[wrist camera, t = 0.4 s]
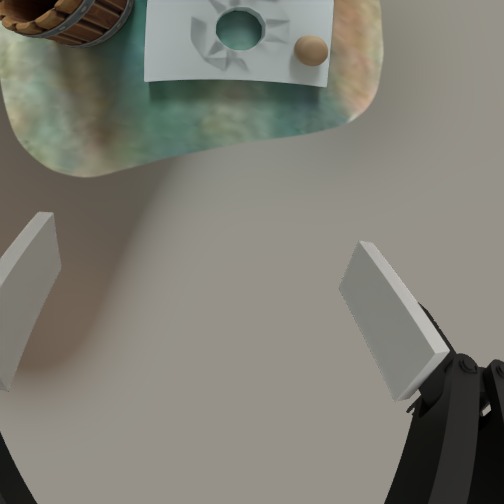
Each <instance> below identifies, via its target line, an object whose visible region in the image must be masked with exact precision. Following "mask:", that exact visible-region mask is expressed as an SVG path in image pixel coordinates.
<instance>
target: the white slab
mask: <svg viewBox="0 0 504 504" xmlns="http://www.w3.org/2000/svg"><path fill="white" fill-rule="evenodd" d="M333 5H334V0H148V1H147V14H146V32H145V59H144V82H151V81H166V80H193V79H227V80H254V81H270V82H283V83H293V84H303V85H311V86H319V87H326V88H327V79H328V69H329V58H330V46H331V34H332V21H333ZM232 11H246V12H248V13H250V14H252V15H253V16H255V17H257V19H258V21H259V23H260V24H261V26H262V34H261V39H260V40H259V41H258V43H257V44H256V45H255V47H253V48H251V49H249V50H246V51H245V50H232V49H230V48H229V47H227V46H225V45H223V44H222V43H221V42H220V40H219V38H218V36H217V35H216V24H217V22H218V21H219V20H220V18H221V17H222V16H223V15H225V14H227V13H229V12H232ZM306 35H314V36H317V37H320V38H321V39H322V40H323V41H324V42H325V43H326V44H327V47H328V57H327V59H326V60H325V61H324V62H323V63H322V64H320V65H318V66H306V65H304V64H302V63H301V62H299V61H298V60H297V58H296V57H295V54H294V46H295V43H296V42H297V40H298V39H299V38H301V37H303V36H306Z"/></svg>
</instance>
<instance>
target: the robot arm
mask: <svg viewBox="0 0 504 504" xmlns="http://www.w3.org/2000/svg"><path fill="white" fill-rule="evenodd" d="M61 268H62V267H61V261H60V256H59V249H58V243H57V236H56V229H55V221H54V213H50V212H38V213H37V214H36V215H35V216H34V217H33V219H32V220H31V221H30V222H29V223H28V225H27V226H26V227H25V228H24V229H23V230H22V232H21V233H20V234H19V236H18V237H17V238H16V239H15V241H14V242H13V243H12V244H11V246H10V247H9V248H8V249H7V251H6V252H5V253H4V255H3V256H2V257H1V259H0V389H2V390H5V391H8V392H9V390H10V387H11V383H12V380H13V378H14V375H15V372H16V369H17V367H18V364H19V361H20V358H21V355H22V353H23V351H24V348H25V346H26V343H27V341H28V338H29V336H30V333H31V331H32V329H33V326H34V324H35V322H36V320H37V317H38V315H39V313H40V311H41V308H42V306H43V304H44V302H45V300H46V297H47V296H48V293H49V292H50V290H51V287H52V285H53V284H54V282H55V280H56V278H57V275H58V274H59V272H60V270H61ZM339 290H340V292H341V294H342V296H343V297H344V299H345V301H346V303H347V305H348V307H349V309H350V311H351V313H352V315H353V317H354V319H355V321H356V323H357V325H358V327H359V329H360V331H361V333H362V335H363V337H364V339H365V340H366V343H367V345H368V347H369V349H370V351H371V353H372V355H373V357H374V359H375V361H376V363H377V365H378V367H379V369H380V372H381V374H382V376H383V378H384V380H385V382H386V384H387V387H388V389H389V391H390V393H391V395H392V397H393V400H394V401H395V402H396V401H400V400H404V399H408V398H410V397H411V396H412V395H413V394H414V393H415V392H416V391H417V389H419V391H420V393H421V395H420V396H419V398H418V399H417V400H416V401H415V402H414V403H413V404H412V405H411V406H410V407H409V408H408V410H407V411H406V412H407V413H409V412H410V411H411V410H412V409H413V408H415V410H414V412H413V413H412V415H413V418H412V422H411V425H410V429H409V432H408V436H407V440H406V443H405V446H404V450H403V453H402V456H401V459H400V462H399V465H398V468H397V471H396V474H395V477H394V479H393V482H392V485H391V488H390V490H389V493H388V495H387V498H386V500H385V503H384V504H504V362H502V361H500V360H496V359H495V360H493V361H492V362H491V363H490V364H489V365H488V367H487V368H484V367H478V366H477V364H476V363H475V361H474V360H473V359H472V358H471V357H469V356H468V355H465V354H456V352H455V351H454V349H453V347H452V346H451V344H450V343H449V341H448V340H447V338H446V337H445V335H444V334H443V332H442V331H441V329H439V326H438V325H437V323H436V322H435V321H434V319H433V318H432V316H431V315H430V313H429V312H428V310H426V309H425V308H424V307H423V306H422V305H421V304H420V303H418V302H417V301H416V300H415V298H414V297H413V296H412V294H411V293H410V291H409V290H408V289H407V287H406V286H405V285H404V283H403V282H402V280H401V279H400V278H399V276H398V275H397V274H396V273H395V271H394V270H393V268H392V267H391V266H390V265H389V263H388V262H387V261H386V259H385V258H384V257H383V256H382V254H381V253H380V252H379V251H378V249H377V248H376V247H375V246H374V244H373V243H372V242H366V241H358V243H357V245H356V248H355V251H354V253H353V255H352V258H351V260H350V263H349V265H348V268H347V270H346V273H345V275H344V277H343V280H342V282H341V284H340V286H339ZM489 404H490V406H491V411H490V412H489V413H487V414H486V415H485V416H483V413H482V411H483V410H484V409H485V408H486V407H487V406H488V405H489ZM0 504H37V503H36V501H35V499H34V498H33V496H32V494H31V492H30V491H29V489H28V487H27V485H26V484H25V482H24V480H23V478H22V476H21V475H20V473H19V471H18V469H17V467H16V465H15V463H14V461H13V459H12V457H11V455H10V453H9V450H8V448H7V446H6V444H5V442H4V439H3V437H2V435H1V433H0Z"/></svg>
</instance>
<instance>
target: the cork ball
mask: <svg viewBox="0 0 504 504" xmlns="http://www.w3.org/2000/svg"><path fill="white" fill-rule="evenodd" d="M294 54H295V57H296V58H297V60H298V61H299V62H301V63H302V64H304V65H306V66H318V65H320V64H322V63H323V62H324V61H325V60H326V59H327V57H328V47H327V44H326V43H325V42H324V41H323V40H322V39H321V38H320V37H317V36H314V35H306V36H303V37H301V38H299V39H298V40H297V42H296V43H295V46H294Z"/></svg>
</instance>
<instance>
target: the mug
mask: <svg viewBox="0 0 504 504" xmlns="http://www.w3.org/2000/svg"><path fill="white" fill-rule="evenodd" d="M133 5H134V0H0V20H1V21H2V25H3V26H4V27H5V28H6V29H9V30H11V31H14V32H15V33H18V34H21V35H23V36H27V37H32V38H46V39H50V40H53V41H56V42H58V43H60V44H63V45H65V46H69V47H76V48H83V47H90V46H93V45H97V44H99V43H102V42H104V41H106V40H107V39H109V38H111V36H112V35H113V34H114V33H117V32H118V31H119V30H120V29H121V28H122V27H123V25H124V24H125V23H126V21H127V18H128V16H129V15H130V14H131V12H132V9H133Z"/></svg>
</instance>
